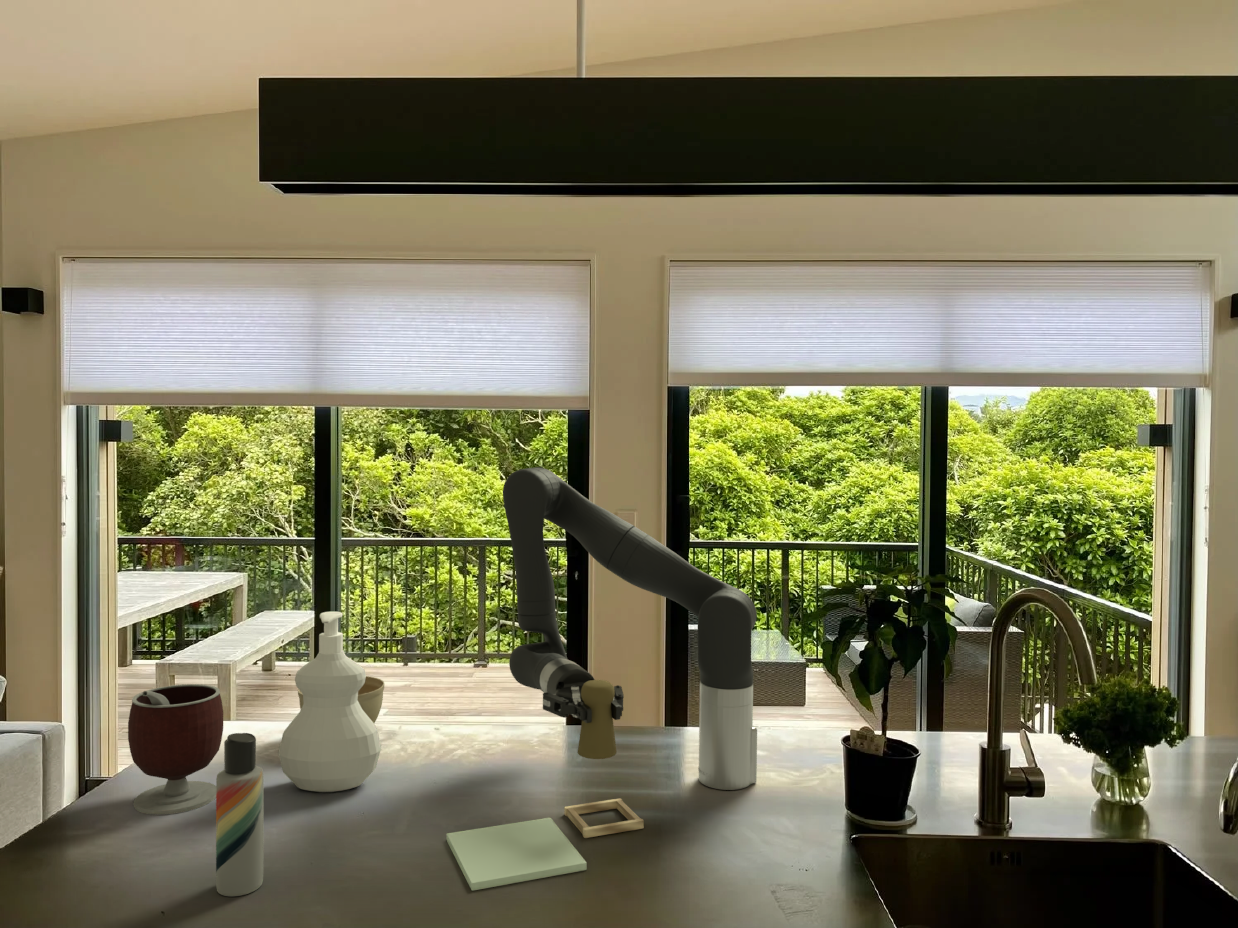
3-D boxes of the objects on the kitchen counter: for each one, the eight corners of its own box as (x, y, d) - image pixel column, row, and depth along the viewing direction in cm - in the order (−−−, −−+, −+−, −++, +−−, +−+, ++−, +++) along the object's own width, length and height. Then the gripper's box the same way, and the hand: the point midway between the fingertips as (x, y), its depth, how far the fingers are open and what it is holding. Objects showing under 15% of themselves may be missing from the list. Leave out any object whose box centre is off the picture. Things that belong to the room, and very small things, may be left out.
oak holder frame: (620, 805, 146) (620, 798, 146) (643, 828, 137) (643, 820, 137) (564, 814, 142) (564, 806, 142) (584, 837, 134) (584, 829, 134)
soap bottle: (268, 799, 147) (269, 619, 146) (290, 773, 158) (291, 606, 158) (373, 798, 148) (374, 619, 147) (387, 772, 159) (388, 606, 158)
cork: (612, 760, 135) (612, 688, 135) (573, 757, 137) (573, 685, 136) (620, 746, 141) (621, 677, 141) (582, 743, 142) (583, 674, 142)
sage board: (550, 823, 139) (550, 817, 139) (586, 869, 124) (586, 862, 124) (446, 840, 132) (446, 833, 132) (471, 890, 118) (471, 882, 118)
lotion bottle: (225, 876, 121) (225, 728, 120) (268, 875, 121) (269, 727, 121) (209, 898, 115) (209, 742, 114) (255, 896, 115) (255, 741, 115)
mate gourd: (161, 781, 154) (161, 664, 153) (239, 784, 153) (239, 667, 152) (101, 818, 138) (101, 689, 138) (187, 823, 137) (188, 692, 137)
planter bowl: (357, 722, 187) (357, 670, 187) (400, 741, 176) (400, 685, 176) (282, 740, 176) (282, 684, 175) (323, 761, 164) (323, 702, 164)
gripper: (526, 666, 149) (559, 694, 133) (606, 659, 154) (647, 685, 139) (526, 711, 149) (559, 744, 133) (606, 702, 155) (646, 734, 139)
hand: (604, 714), depth 136 cm, fingers closed on cork, 4 cm apart
